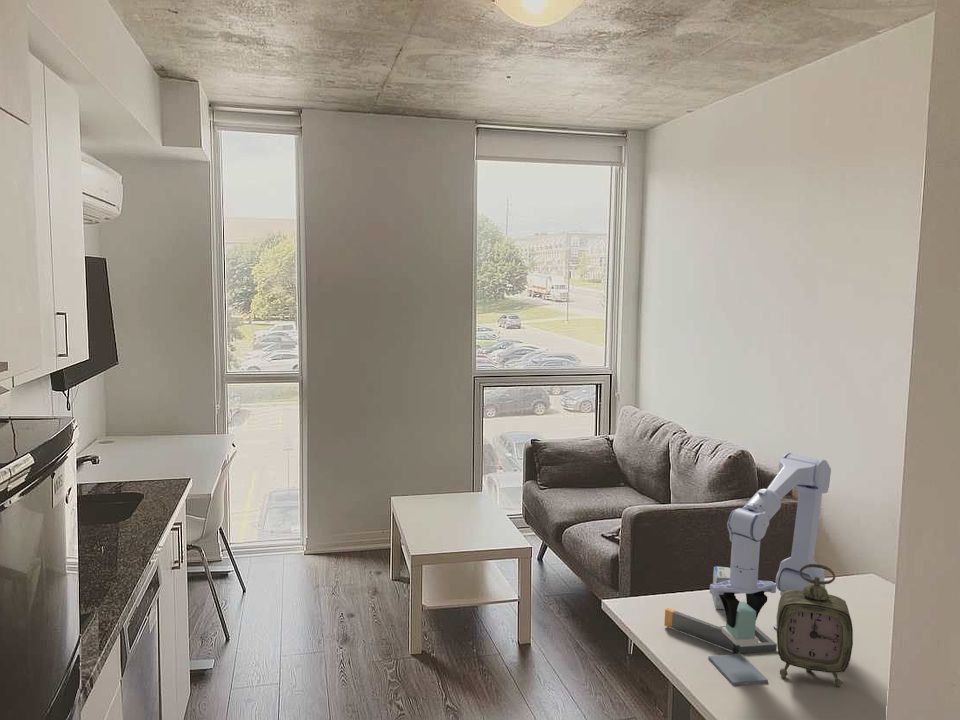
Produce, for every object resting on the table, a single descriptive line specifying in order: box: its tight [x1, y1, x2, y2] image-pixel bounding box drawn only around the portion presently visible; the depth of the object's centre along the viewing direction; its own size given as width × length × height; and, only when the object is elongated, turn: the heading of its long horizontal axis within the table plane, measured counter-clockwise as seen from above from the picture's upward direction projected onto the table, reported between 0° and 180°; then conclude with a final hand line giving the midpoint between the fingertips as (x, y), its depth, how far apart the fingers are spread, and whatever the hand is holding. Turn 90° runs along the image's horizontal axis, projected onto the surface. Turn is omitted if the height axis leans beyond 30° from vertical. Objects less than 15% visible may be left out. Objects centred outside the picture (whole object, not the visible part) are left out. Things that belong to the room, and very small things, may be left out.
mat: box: [707, 653, 769, 686], centre depth 164 cm, size 8×11×1 cm
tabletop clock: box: [776, 563, 854, 688], centre depth 161 cm, size 14×9×25 cm, turn 70°
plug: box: [722, 601, 760, 645], centre depth 164 cm, size 5×6×7 cm
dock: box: [719, 625, 778, 654], centre depth 177 cm, size 9×10×2 cm
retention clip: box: [664, 607, 740, 654], centre depth 177 cm, size 1×19×5 cm, turn 46°
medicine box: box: [711, 566, 730, 611], centre depth 197 cm, size 8×4×9 cm, turn 168°
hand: (740, 624), depth 164 cm, fingers closed on plug, 4 cm apart
